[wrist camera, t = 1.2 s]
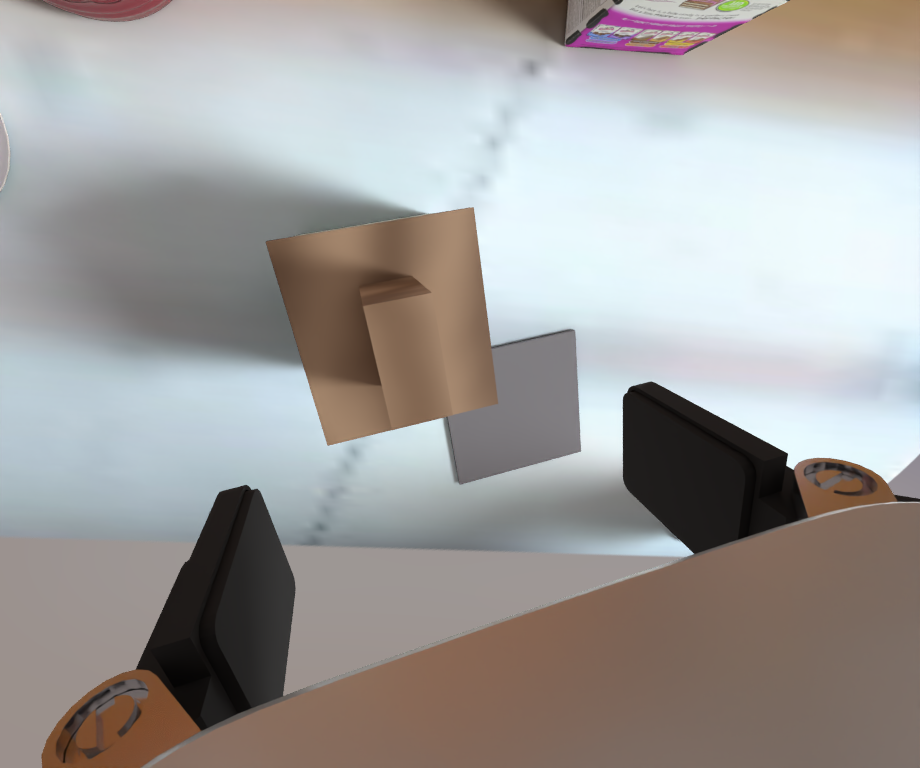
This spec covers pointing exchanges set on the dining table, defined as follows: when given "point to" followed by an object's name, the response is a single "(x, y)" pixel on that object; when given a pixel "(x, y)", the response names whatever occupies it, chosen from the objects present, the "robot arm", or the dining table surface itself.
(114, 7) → the canister
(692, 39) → the candy bar box
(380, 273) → the lid
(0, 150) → the pudding
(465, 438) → the mat
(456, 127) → the dining table surface
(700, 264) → the dining table surface
